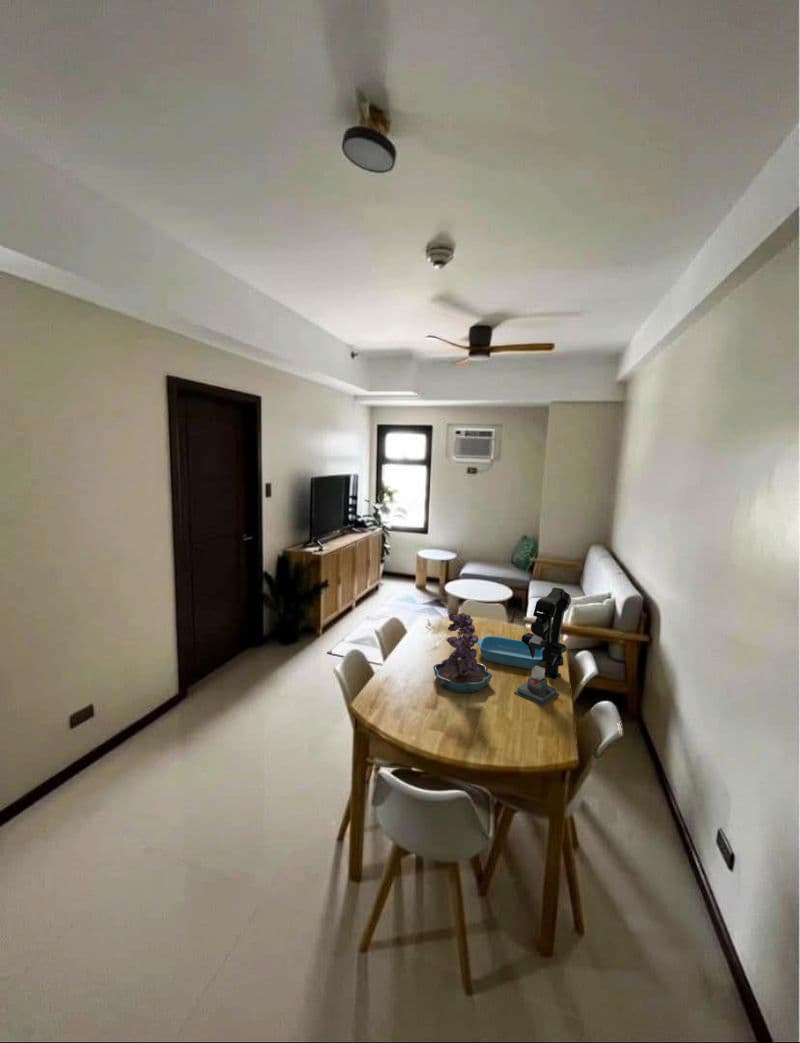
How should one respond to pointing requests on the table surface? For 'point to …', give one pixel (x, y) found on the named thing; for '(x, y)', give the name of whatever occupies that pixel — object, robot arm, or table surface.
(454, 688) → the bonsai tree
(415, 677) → the table surface
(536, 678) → the column
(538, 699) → the jack stand base
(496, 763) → the table surface
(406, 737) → the table surface
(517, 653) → the casserole dish
